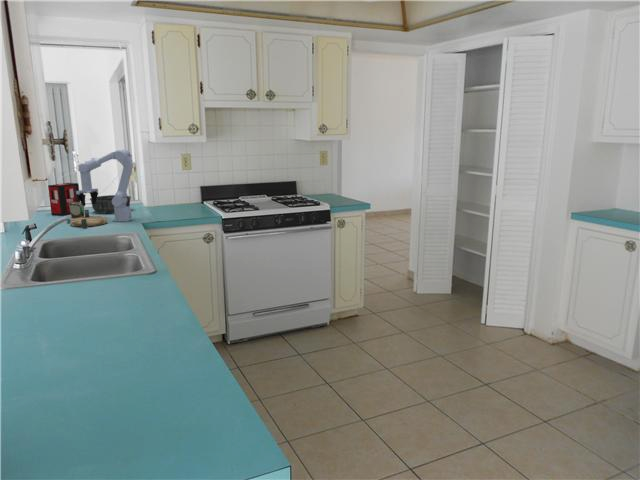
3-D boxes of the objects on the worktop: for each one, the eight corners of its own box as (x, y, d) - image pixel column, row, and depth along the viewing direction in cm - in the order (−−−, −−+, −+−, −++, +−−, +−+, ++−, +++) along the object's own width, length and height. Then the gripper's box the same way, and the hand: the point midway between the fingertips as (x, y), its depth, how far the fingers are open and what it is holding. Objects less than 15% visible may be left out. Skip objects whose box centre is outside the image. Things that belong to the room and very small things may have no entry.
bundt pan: (132, 213, 335) (131, 199, 332) (90, 216, 325) (88, 201, 323) (131, 207, 359) (130, 194, 356) (92, 210, 349) (90, 196, 347)
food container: (90, 218, 317) (89, 202, 315) (81, 219, 312) (80, 204, 310) (78, 216, 323) (77, 201, 321) (70, 217, 318) (68, 202, 316)
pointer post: (86, 228, 285) (85, 219, 284) (82, 228, 285) (81, 220, 284) (88, 226, 290) (87, 218, 288) (83, 227, 289) (82, 218, 288)
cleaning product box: (71, 211, 342) (68, 182, 338) (81, 212, 340) (78, 183, 335) (51, 215, 327) (48, 185, 323) (62, 216, 324) (58, 185, 320)
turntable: (108, 224, 294) (107, 212, 293) (71, 227, 285) (70, 215, 283) (104, 219, 311) (103, 208, 310) (69, 222, 302) (68, 210, 300)
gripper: (91, 181, 312) (94, 202, 315) (71, 183, 300) (74, 205, 303) (99, 181, 309) (101, 203, 312) (79, 184, 297) (82, 206, 300)
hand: (88, 204), depth 307 cm, fingers open, 7 cm apart
